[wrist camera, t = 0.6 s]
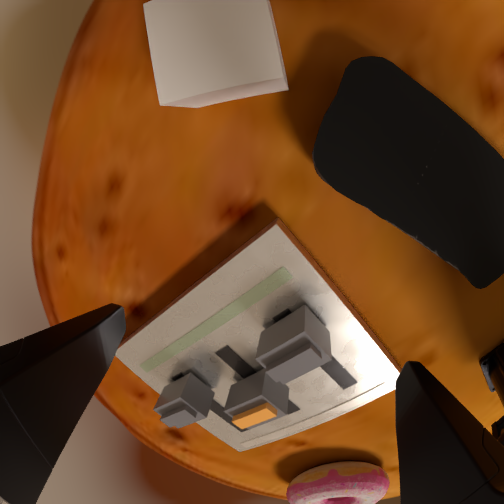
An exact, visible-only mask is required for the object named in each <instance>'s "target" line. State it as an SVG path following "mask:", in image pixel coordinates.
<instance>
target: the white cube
mask: <svg viewBox="0 0 504 504" xmlns="http://www.w3.org/2000/svg"><path fill="white" fill-rule="evenodd" d="M143 7H144V14H145V21H146V28H147V34H148V41H149V47H150V53H151V59H152V65H153V71H154V76H155V82H156V87H157V93H158V98H159V103H160V105H162V106H179V107H193V108H199V107H203V106H208V105H212V104H216V103H221V102H225V101H230V100H235V99H240V98H245V97H250V96H256V95H262V94H267V93H274V92H280V91H287V90H289V88H288V83H287V78H286V73H285V68H284V63H283V58H282V53H281V49H280V44H279V39H278V35H277V30H276V26H275V22H274V17H273V13H272V9H271V5H270V2H269V0H152V1H149V2H147V3H144V4H143Z"/></svg>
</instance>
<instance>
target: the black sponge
mask: <svg viewBox="0 0 504 504" xmlns="http://www.w3.org/2000/svg"><path fill="white" fill-rule="evenodd" d="M312 157H313V163H314V167H315V170H316V172H317V174H318V175H319V176H320V178H321V179H322V180H323V181H325V182H326V183H328V184H329V185H330V186H332V187H333V188H334V189H335V190H336V191H338V192H339V193H341V194H343V195H344V196H346V197H348V198H349V199H351V200H353V201H355V202H356V203H358V204H361V205H363V206H364V207H366V208H368V209H369V210H370V211H372V212H373V213H375V214H376V215H378V216H379V217H380V218H382V219H384V220H386V221H387V222H389V223H391V224H392V225H394V226H395V227H397V228H399V229H400V230H401V231H402V232H404V233H406V234H408V235H409V236H410V237H412V238H413V239H415V240H416V241H417V242H419V243H420V244H422V245H423V246H424V247H426V248H427V249H429V250H430V251H431V252H433V253H435V254H436V255H437V256H439V257H440V258H442V259H443V260H444V261H445V262H447V263H448V264H450V265H451V266H453V267H454V268H456V269H457V270H459V271H460V272H461V273H462V274H463V275H464V276H465V277H466V278H467V279H468V280H469V281H470V283H471V284H472V285H473V286H474V287H476V288H479V289H482V288H485V287H487V286H488V285H490V284H491V283H492V282H494V281H495V280H496V279H498V278H499V277H500V276H501V275H503V274H504V159H503V158H502V156H501V155H500V154H499V153H498V152H497V151H496V150H495V149H494V148H493V147H492V146H491V145H490V144H489V143H488V142H487V141H486V140H485V139H484V138H483V137H482V136H481V135H480V134H478V133H477V132H476V131H475V130H474V129H473V128H472V127H471V126H470V125H469V124H468V123H466V122H465V121H464V120H463V119H462V118H461V117H460V116H458V115H457V114H456V113H455V112H454V111H453V110H451V109H450V108H449V107H448V106H447V105H446V104H444V103H443V102H442V101H441V100H439V99H438V98H437V97H436V96H434V95H433V94H432V93H430V92H429V91H428V90H426V89H425V88H424V87H422V86H421V85H420V84H419V83H417V82H416V81H415V80H414V79H412V78H411V77H410V76H408V75H407V74H406V73H405V72H403V71H402V70H401V69H400V68H399V67H397V66H396V65H395V64H394V63H392V62H390V61H389V60H387V59H385V58H383V57H372V56H369V57H361V58H358V59H356V60H353V61H351V63H350V64H349V65H348V66H347V68H346V69H345V72H344V75H343V78H342V81H341V83H340V86H339V89H338V92H337V95H336V96H335V98H334V100H333V102H332V103H331V105H330V107H329V108H328V110H327V112H326V114H325V116H324V118H323V121H322V123H321V126H320V128H319V131H318V135H317V138H316V142H315V145H314V149H313V152H312Z"/></svg>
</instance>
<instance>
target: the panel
mask: <svg viewBox="0 0 504 504" xmlns="http://www.w3.org/2000/svg"><path fill="white" fill-rule="evenodd" d="M303 305H306V306H307V307H308V308H309V309H310V310H311V312H312V313H313V314H314V315H315V316H316V317H317V318H318V319H319V320H320V322H321V323H322V324H323V325H324V326H325V327H326V328H327V329H328V330H329V332H330V340H331V354H332V360H331V361H329V362H327V363H325V364H323V365H321V366H319V367H318V368H316V369H314V370H312V371H310V372H308V373H306V374H304V375H302V376H300V377H298V378H296V379H294V380H292V381H290V382H288V383H286V385H287V386H288V387H289V399H288V409H287V415H286V416H283V417H281V418H278V419H276V420H273V421H271V422H268V423H265V424H263V425H260V426H257V427H255V428H252V429H249V430H248V429H247V428H244V429H241V428H239V427H238V426H236V425H235V424H234V423H232V417H230V416H229V415H228V414H226V413H225V412H224V407H225V404H226V401H227V397H228V394H229V390H230V387H231V385H232V384H234V383H237V382H239V381H241V380H243V379H245V378H247V377H249V376H251V375H253V374H255V373H257V372H259V371H260V370H262V369H264V367H263V366H262V365H261V364H260V363H258V362H257V361H256V360H255V357H256V352H257V348H258V343H259V338H260V334H261V332H262V331H263V330H265V329H267V328H268V327H270V326H272V325H273V324H275V323H276V322H278V321H280V320H281V319H283V318H285V317H286V316H288V315H289V314H291V313H292V312H294V311H296V310H297V309H299V308H300V307H302V306H303ZM115 356H116V357H117V358H119V359H120V360H121V361H122V362H123V363H124V364H125V365H126V366H127V367H128V368H130V369H131V370H132V371H133V372H134V373H135V374H136V375H137V376H139V377H140V378H141V379H142V380H143V381H144V382H146V383H147V384H148V385H149V386H150V387H152V388H153V389H154V390H155V391H156V392H158V393H159V394H160V395H161V392H162V390H163V388H164V387H165V386H167V385H168V384H170V383H172V382H174V381H176V380H178V379H180V378H182V377H183V376H185V375H187V374H189V373H192V374H193V375H194V376H195V377H197V378H198V379H199V380H200V381H201V382H203V383H204V384H205V385H206V386H207V387H209V388H210V389H211V390H212V391H214V392H215V395H214V398H213V401H212V404H211V407H210V410H209V413H208V416H207V418H205V419H202V420H200V421H197V422H196V423H198V424H199V425H201V426H202V427H203V428H205V429H206V430H208V431H209V432H210V433H212V434H213V435H215V436H216V437H218V438H219V439H221V440H222V441H224V442H225V443H227V444H228V445H230V446H231V447H233V448H234V449H236V450H237V451H239V452H241V451H245V450H248V449H251V448H255V447H258V446H261V445H264V444H267V443H270V442H273V441H276V440H279V439H282V438H285V437H288V436H291V435H293V434H296V433H299V432H301V431H304V430H307V429H309V428H312V427H314V426H317V425H319V424H322V423H324V422H326V421H329V420H331V419H334V418H336V417H338V416H340V415H343V414H345V413H347V412H349V411H352V410H354V409H356V408H358V407H360V406H362V405H364V404H366V403H368V402H370V401H373V400H375V399H377V398H378V397H380V396H382V395H384V394H386V393H388V392H390V391H392V390H394V389H395V384H396V380H397V377H398V376H399V374H400V372H401V370H402V369H401V368H400V366H399V365H398V364H397V363H396V361H395V360H394V359H393V357H392V356H391V355H390V353H389V352H388V351H387V350H386V348H385V347H384V346H383V344H382V343H381V342H380V341H379V339H378V338H377V337H376V335H375V334H374V333H373V332H372V330H371V329H370V328H369V326H368V325H367V324H366V323H365V321H364V320H363V319H362V318H361V316H360V315H359V314H358V313H357V311H356V310H355V309H354V308H353V306H352V305H351V304H350V303H349V301H348V300H347V299H346V298H345V296H344V295H343V294H342V293H341V292H340V290H339V289H338V288H337V287H336V285H335V284H334V283H333V282H332V281H331V279H330V278H329V277H328V276H327V274H326V273H325V272H324V271H323V270H322V268H321V267H320V266H319V265H318V264H317V262H316V261H315V260H314V259H313V258H312V256H311V255H310V254H309V253H308V252H307V250H306V249H305V248H304V247H303V246H302V245H301V243H300V242H299V241H298V240H297V239H296V237H295V236H294V235H293V234H292V233H291V232H290V230H289V229H288V228H287V227H286V226H285V225H284V223H283V222H282V221H281V220H280V219H279V218H276V219H275V220H274V221H273V222H271V223H270V224H269V225H267V226H266V227H265V228H264V229H262V230H261V231H260V232H259V233H257V234H256V235H255V236H254V237H252V238H251V239H250V240H248V241H247V242H246V243H245V244H243V245H242V246H241V247H240V248H238V249H237V250H236V251H235V252H233V253H232V254H231V255H229V256H228V257H227V258H226V259H224V260H223V261H222V262H221V263H219V264H218V265H217V266H216V267H214V268H213V269H212V270H211V271H209V272H208V273H207V274H206V275H204V276H203V277H202V278H201V279H199V280H198V281H197V282H196V283H194V284H193V285H192V286H191V287H189V288H188V289H187V290H186V291H184V292H183V293H182V294H181V295H179V296H178V297H177V298H176V299H174V300H173V301H172V302H171V303H169V304H168V305H167V306H166V307H164V308H163V309H162V310H161V311H159V312H158V313H157V314H156V315H154V316H153V317H152V318H151V319H149V320H148V321H147V322H146V323H144V324H143V325H142V326H141V327H140V328H138V329H137V330H136V331H135V332H133V333H132V334H131V335H130V336H128V337H127V338H126V339H125V340H123V341H122V342H121V343H120V345H119V347H118V349H117V351H116V353H115Z"/></svg>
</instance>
